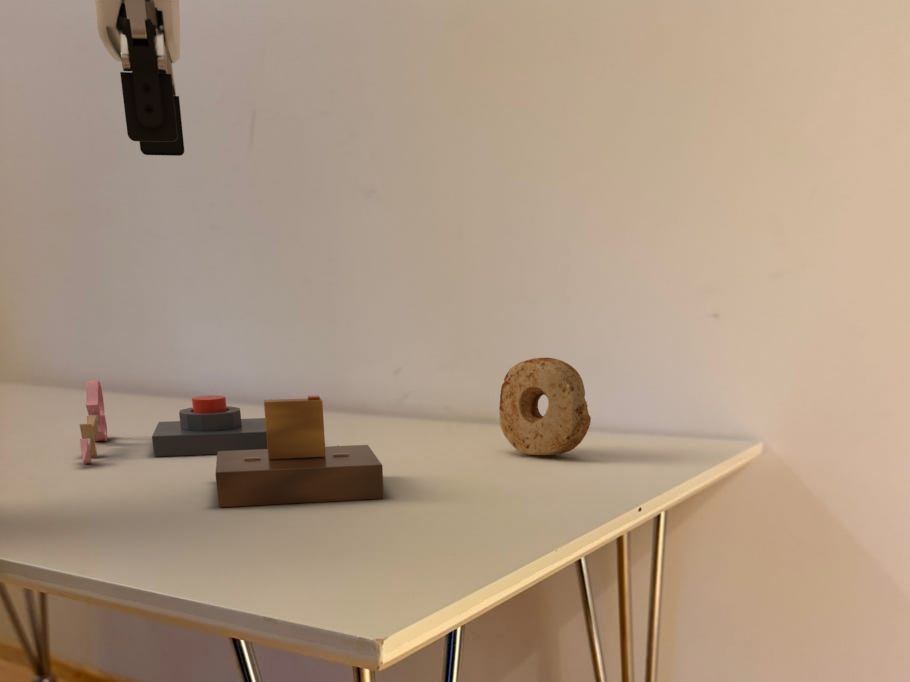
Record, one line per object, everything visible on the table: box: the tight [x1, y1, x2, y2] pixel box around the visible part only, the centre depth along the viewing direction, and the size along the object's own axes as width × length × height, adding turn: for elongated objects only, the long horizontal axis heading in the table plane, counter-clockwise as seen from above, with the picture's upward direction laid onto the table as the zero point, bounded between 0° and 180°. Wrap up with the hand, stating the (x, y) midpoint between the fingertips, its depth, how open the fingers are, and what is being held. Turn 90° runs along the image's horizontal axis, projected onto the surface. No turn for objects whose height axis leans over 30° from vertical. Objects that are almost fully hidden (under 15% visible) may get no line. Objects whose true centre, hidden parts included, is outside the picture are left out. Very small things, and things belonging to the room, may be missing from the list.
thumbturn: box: [263, 395, 326, 459], centre depth 87 cm, size 5×1×5 cm, turn 103°
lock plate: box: [215, 444, 385, 508], centre depth 88 cm, size 14×10×3 cm
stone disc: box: [498, 357, 592, 456], centre depth 103 cm, size 10×4×10 cm, turn 52°
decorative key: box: [79, 380, 108, 465], centre depth 106 cm, size 7×1×20 cm
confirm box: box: [151, 405, 268, 458], centre depth 109 cm, size 12×10×4 cm
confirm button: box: [191, 394, 227, 413], centre depth 108 cm, size 4×4×2 cm
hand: (158, 148), depth 71 cm, fingers open, 9 cm apart
